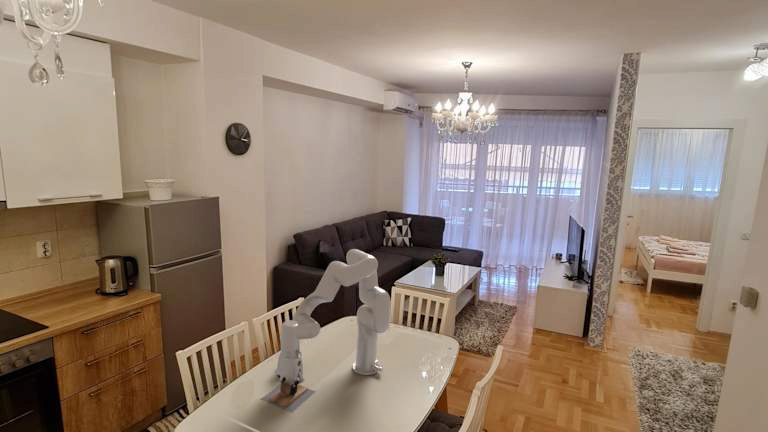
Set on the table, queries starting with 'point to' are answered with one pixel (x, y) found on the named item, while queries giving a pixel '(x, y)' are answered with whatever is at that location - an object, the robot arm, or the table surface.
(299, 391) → the walnut lid
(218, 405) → the table surface
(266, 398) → the rubber mat
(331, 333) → the table surface
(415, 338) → the table surface
